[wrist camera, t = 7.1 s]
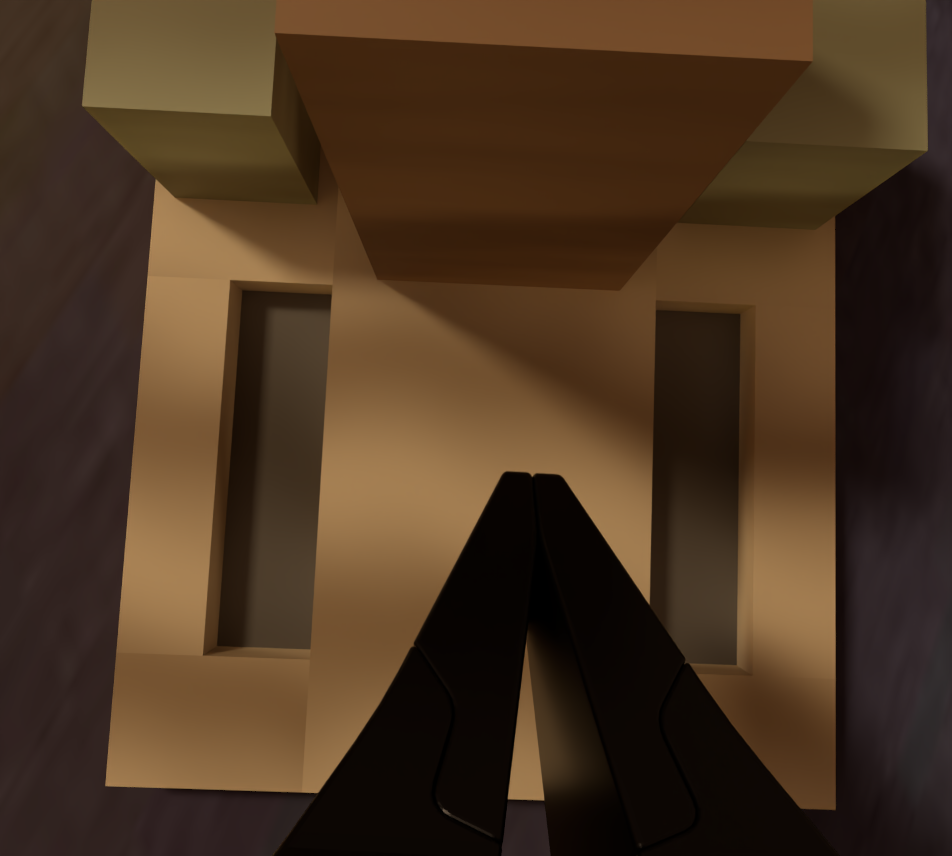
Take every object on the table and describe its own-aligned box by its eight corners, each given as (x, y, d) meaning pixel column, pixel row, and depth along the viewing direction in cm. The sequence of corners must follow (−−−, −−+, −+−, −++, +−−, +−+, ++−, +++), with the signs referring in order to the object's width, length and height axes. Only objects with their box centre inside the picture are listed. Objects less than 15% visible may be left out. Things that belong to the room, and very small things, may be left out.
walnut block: (619, 290, 16) (812, 61, 7) (377, 279, 16) (274, 33, 7) (623, 97, 17) (812, -343, 8) (387, 85, 17) (301, -376, 8)
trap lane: (808, 786, 17) (965, 923, 12) (131, 763, 16) (-22, 895, 11) (810, 88, 18) (950, -68, 13) (188, 54, 18) (76, -120, 13)
